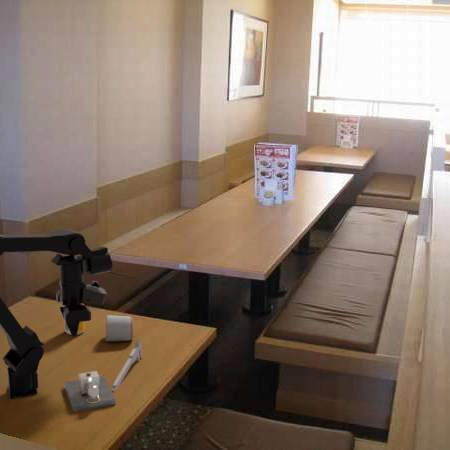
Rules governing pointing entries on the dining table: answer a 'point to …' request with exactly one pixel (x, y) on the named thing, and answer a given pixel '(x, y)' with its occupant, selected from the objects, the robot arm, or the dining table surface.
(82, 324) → the beer can
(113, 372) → the dining table surface
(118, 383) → the caliper
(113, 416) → the dining table surface
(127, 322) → the ceramic mug
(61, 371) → the dining table surface
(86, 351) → the dining table surface
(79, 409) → the plate
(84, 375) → the block
